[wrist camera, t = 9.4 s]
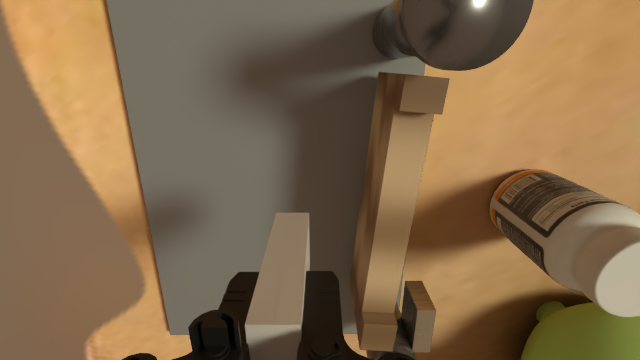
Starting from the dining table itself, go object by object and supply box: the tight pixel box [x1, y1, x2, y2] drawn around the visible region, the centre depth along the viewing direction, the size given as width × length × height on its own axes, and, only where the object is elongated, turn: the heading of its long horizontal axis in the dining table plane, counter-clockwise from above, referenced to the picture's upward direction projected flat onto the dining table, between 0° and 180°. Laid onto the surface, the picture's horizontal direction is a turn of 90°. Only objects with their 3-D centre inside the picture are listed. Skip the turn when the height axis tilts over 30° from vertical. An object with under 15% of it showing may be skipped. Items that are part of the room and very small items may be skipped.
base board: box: [106, 0, 425, 335], centre depth 24 cm, size 27×20×1 cm
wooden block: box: [349, 72, 449, 351], centre depth 20 cm, size 16×2×6 cm, turn 175°
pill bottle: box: [490, 169, 640, 317], centre depth 21 cm, size 6×6×10 cm
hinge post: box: [372, 0, 533, 71], centre depth 16 cm, size 4×4×11 cm
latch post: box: [366, 281, 436, 360], centre depth 23 cm, size 6×5×11 cm
